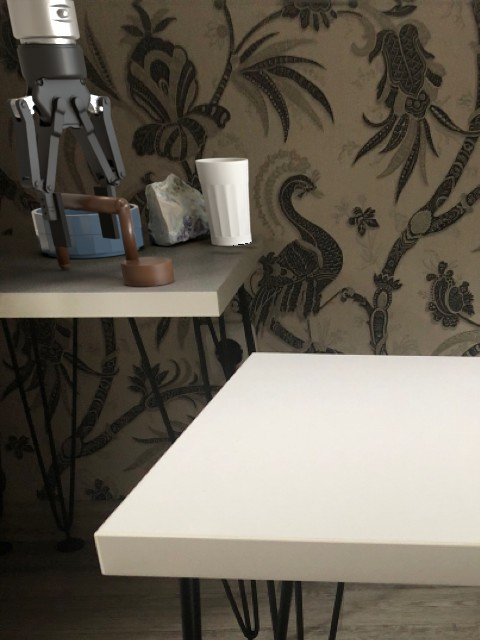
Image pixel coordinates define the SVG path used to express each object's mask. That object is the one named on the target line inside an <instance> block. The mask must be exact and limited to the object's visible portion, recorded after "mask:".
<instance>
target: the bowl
mask: <svg viewBox="0 0 480 640" xmlns="http://www.w3.org/2000/svg"><path fill="white" fill-rule="evenodd" d="M129 206H130V211H131V217H132V223H133V229H134V234H135V240H136V246H137V251H139V250H140V249H141V247H143V246H144V245H145V238H144V232H143V226H142V221H141V220H142V219H141V214H140V208H139V206H138V205H137V204H135V203H129ZM64 210H65V215H66V220H67V225H68V230H69V234H70V239H71V244H72V247H69V248H67V249H68V254H69V259H95V258H109V257H116V256H122V255H125V252H124V246H123V240H122V235H121V229H120V223H119V218H118V214H116V217H117V223H118V228H119V234H120V239H108V238H103V236H102V231H101V226H100V220H99V215H98V212H88V211H77V210H67V209H64ZM31 216H32V221H33V227H34V231H35V235H36V240H37V243H38V248H39V251H40V252H42V253H45V254H46V255H47V256H48V257H52V258H57V256H56V251H55V247H54V244H53V239H52V235H51V230H50V225H49V221H48V220H45V219H44V217H43V215H42V210H41V207H39V208H36V209H33V210H32V211H31Z"/></svg>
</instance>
